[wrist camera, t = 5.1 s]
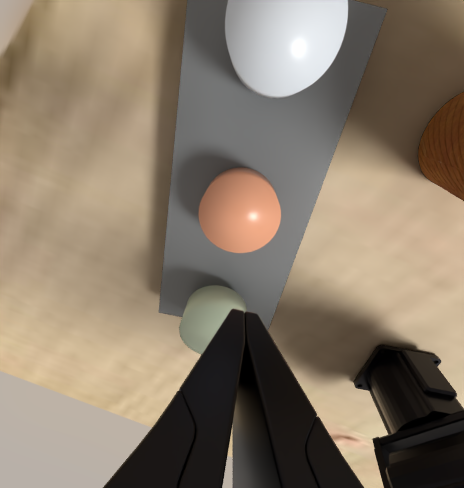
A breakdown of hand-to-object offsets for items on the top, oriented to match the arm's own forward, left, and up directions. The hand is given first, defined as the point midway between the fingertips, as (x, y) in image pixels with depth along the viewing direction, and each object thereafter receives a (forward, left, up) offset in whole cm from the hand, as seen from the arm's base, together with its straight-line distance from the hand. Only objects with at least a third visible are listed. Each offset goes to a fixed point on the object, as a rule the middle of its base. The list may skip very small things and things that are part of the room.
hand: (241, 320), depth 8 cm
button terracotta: (0, 0, -11) cm, 11 cm away
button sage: (-9, 0, -10) cm, 13 cm away
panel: (0, 0, -13) cm, 13 cm away
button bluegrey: (+9, 0, -10) cm, 14 cm away
